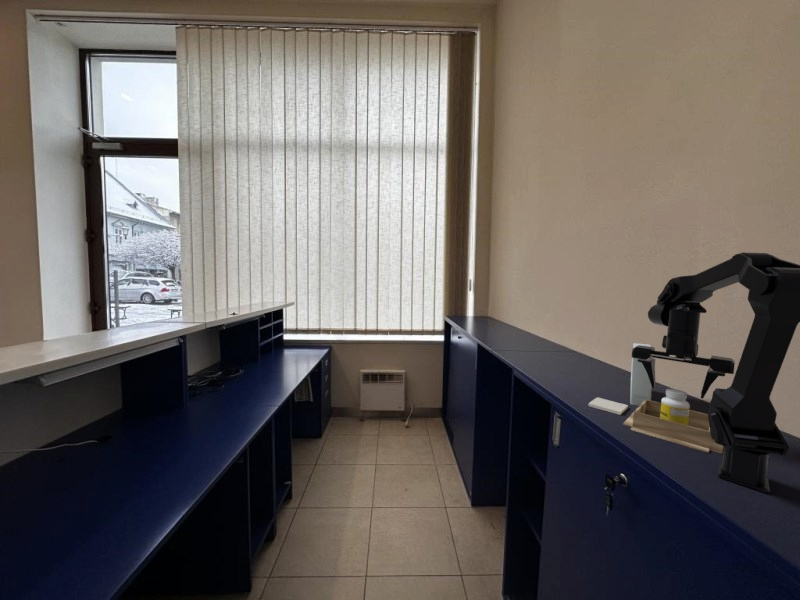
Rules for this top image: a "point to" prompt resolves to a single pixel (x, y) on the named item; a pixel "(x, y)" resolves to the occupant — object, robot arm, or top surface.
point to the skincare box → (639, 381)
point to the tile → (608, 405)
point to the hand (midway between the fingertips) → (676, 392)
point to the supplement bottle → (675, 406)
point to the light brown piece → (673, 427)
